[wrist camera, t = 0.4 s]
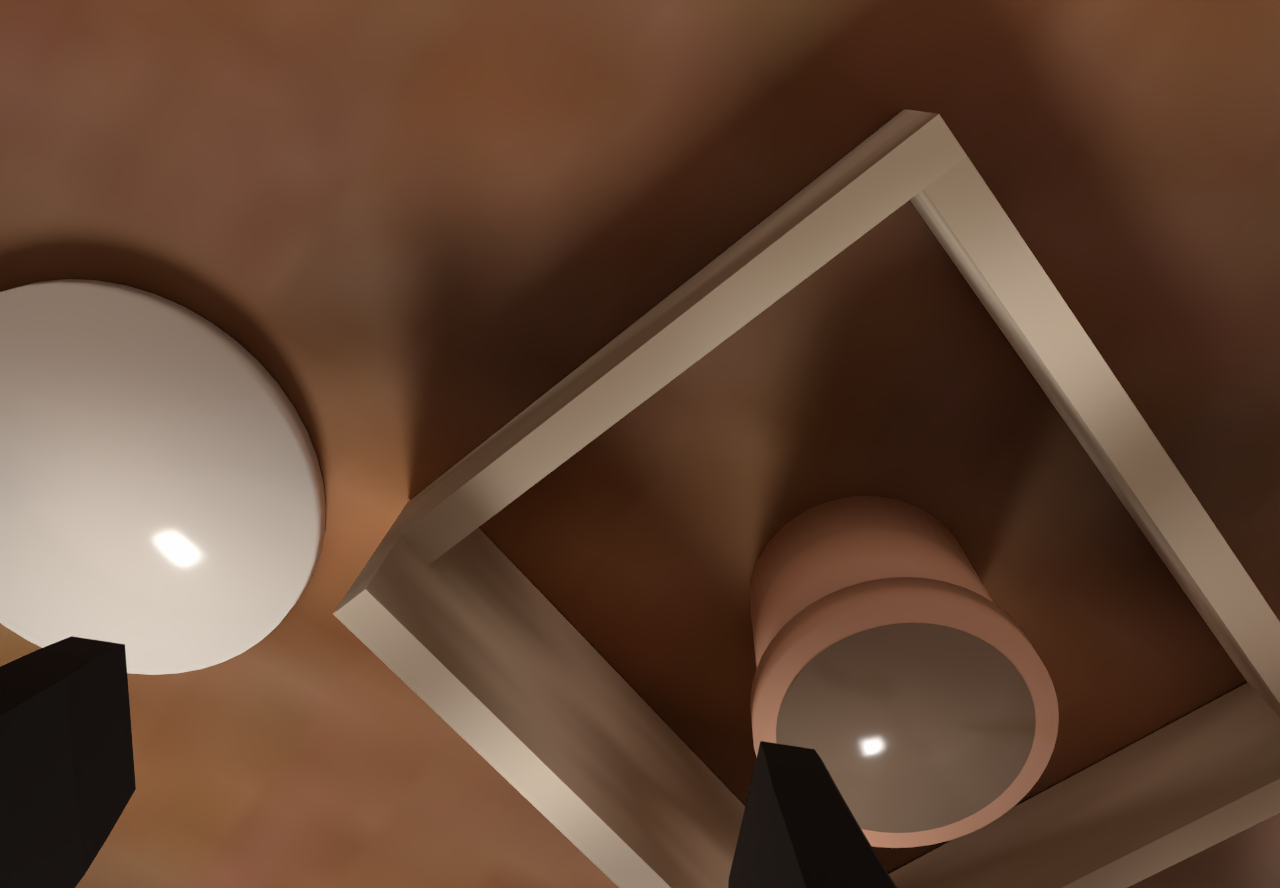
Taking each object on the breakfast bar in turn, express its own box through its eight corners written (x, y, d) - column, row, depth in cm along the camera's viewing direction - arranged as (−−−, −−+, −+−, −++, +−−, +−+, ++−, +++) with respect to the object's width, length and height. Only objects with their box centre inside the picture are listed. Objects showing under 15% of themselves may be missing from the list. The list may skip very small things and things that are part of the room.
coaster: (411, 517, 20) (402, 529, 20) (149, 722, 22) (135, 738, 22) (85, 184, 18) (66, 187, 17) (-167, 452, 20) (-191, 462, 20)
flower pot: (1026, 613, 20) (1117, 758, 16) (829, 730, 22) (864, 892, 17) (892, 439, 19) (952, 545, 15) (692, 576, 20) (692, 709, 16)
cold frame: (1298, 688, 21) (1454, 843, 16) (828, 934, 24) (857, 1115, 20) (904, 108, 17) (976, 119, 12) (407, 501, 20) (333, 614, 16)
